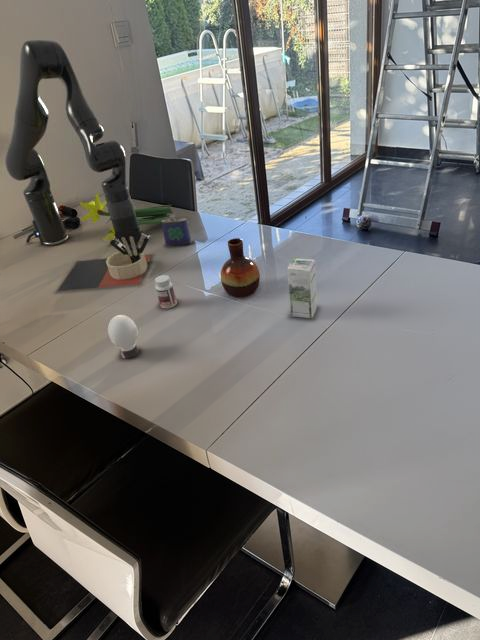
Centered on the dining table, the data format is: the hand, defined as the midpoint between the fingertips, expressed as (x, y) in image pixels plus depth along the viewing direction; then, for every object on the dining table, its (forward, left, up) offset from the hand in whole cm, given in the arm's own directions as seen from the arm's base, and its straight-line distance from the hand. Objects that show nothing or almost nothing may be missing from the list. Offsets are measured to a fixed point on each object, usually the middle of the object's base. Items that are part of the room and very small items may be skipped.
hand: (137, 264), depth 153 cm
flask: (+11, +17, -2) cm, 20 cm away
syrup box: (+52, -33, -2) cm, 61 cm away
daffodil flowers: (-7, +30, -2) cm, 31 cm away
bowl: (-3, 0, -2) cm, 4 cm away
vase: (+35, -19, -2) cm, 39 cm away
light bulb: (+8, -45, -2) cm, 45 cm away
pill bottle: (+14, -23, -2) cm, 27 cm away
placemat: (-11, 0, -2) cm, 11 cm away
